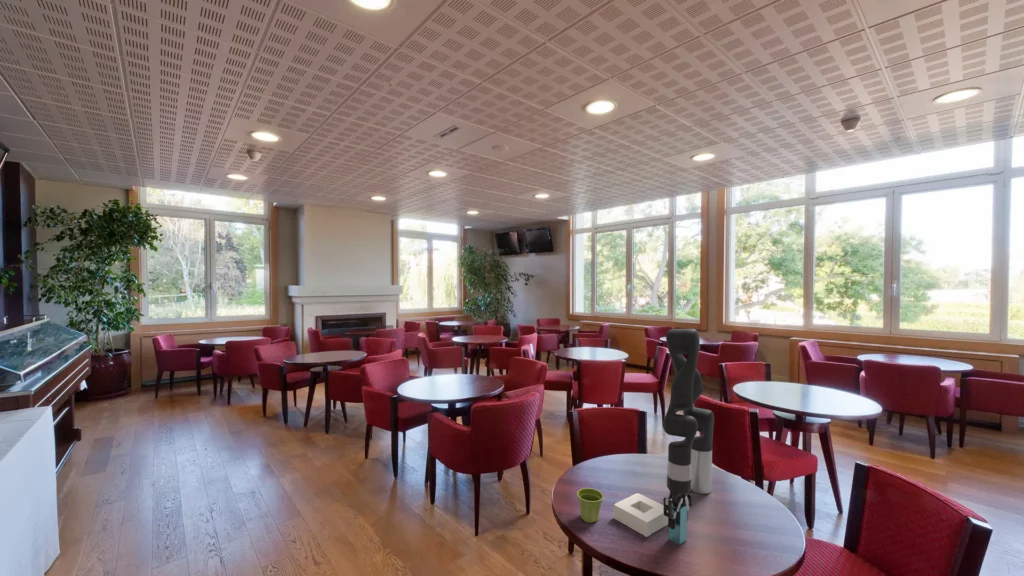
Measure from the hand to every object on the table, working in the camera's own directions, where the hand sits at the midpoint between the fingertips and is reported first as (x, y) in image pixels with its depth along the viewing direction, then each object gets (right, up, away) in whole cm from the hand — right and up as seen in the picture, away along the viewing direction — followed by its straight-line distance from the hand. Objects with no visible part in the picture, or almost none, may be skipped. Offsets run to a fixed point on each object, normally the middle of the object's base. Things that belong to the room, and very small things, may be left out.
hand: (677, 524), depth 141 cm
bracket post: (0, -5, 0) cm, 5 cm away
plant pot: (-27, -5, +12) cm, 30 cm away
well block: (-9, -5, +11) cm, 15 cm away
